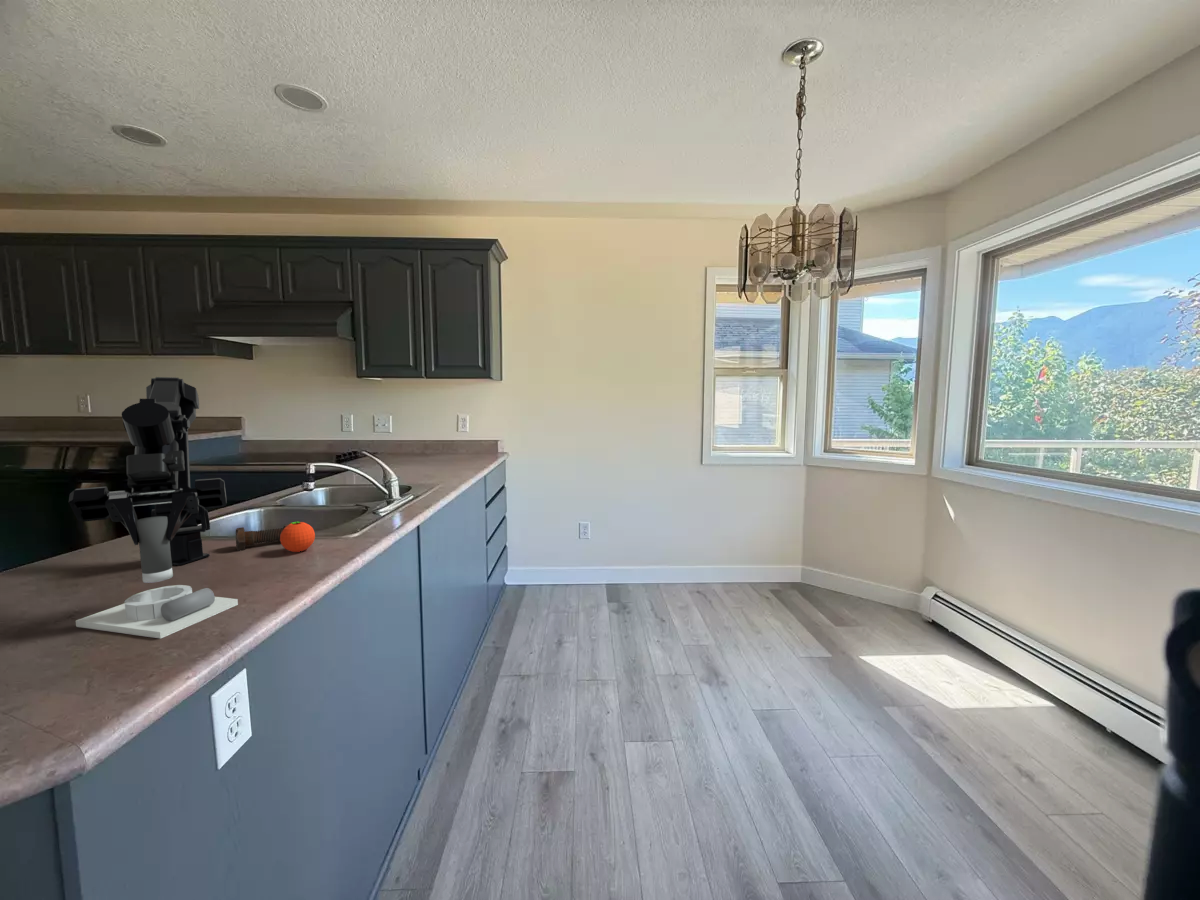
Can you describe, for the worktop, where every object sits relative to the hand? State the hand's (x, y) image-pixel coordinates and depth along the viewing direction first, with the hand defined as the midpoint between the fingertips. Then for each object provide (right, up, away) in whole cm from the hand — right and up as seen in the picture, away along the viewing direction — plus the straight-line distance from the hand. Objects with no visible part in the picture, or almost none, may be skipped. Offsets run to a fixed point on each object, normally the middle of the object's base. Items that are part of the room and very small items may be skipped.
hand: (152, 541), depth 76 cm
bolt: (-9, -9, +41) cm, 43 cm away
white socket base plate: (-1, -13, +2) cm, 13 cm away
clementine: (0, -9, +36) cm, 37 cm away
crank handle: (-1, -6, +2) cm, 7 cm away
